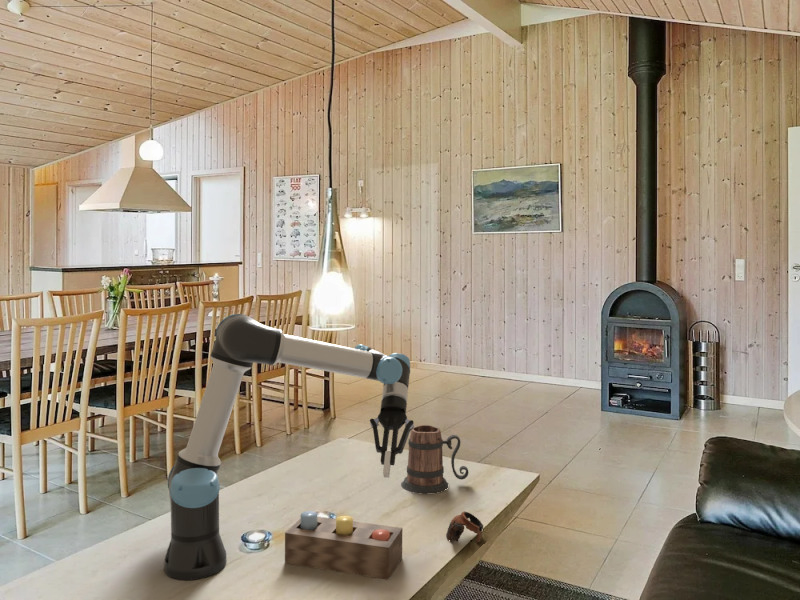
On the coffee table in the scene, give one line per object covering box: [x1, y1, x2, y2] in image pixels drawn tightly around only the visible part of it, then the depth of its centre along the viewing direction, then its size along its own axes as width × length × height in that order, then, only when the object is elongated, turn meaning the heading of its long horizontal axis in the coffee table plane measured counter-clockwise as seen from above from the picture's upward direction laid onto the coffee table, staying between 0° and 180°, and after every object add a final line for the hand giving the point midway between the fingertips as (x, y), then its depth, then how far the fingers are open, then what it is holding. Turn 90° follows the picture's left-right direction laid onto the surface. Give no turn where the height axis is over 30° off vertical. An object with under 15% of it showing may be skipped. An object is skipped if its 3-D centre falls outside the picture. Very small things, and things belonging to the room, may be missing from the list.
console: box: [284, 516, 403, 580], centre depth 164 cm, size 28×12×8 cm, turn 74°
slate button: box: [300, 510, 318, 531], centre depth 166 cm, size 4×4×4 cm
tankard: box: [400, 424, 469, 495], centre depth 219 cm, size 24×17×20 cm
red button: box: [372, 529, 390, 541], centre depth 161 cm, size 4×4×4 cm
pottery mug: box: [445, 511, 484, 544], centre depth 176 cm, size 12×10×8 cm
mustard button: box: [335, 515, 354, 536], centre depth 163 cm, size 4×4×4 cm
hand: (386, 475), depth 171 cm, fingers closed
